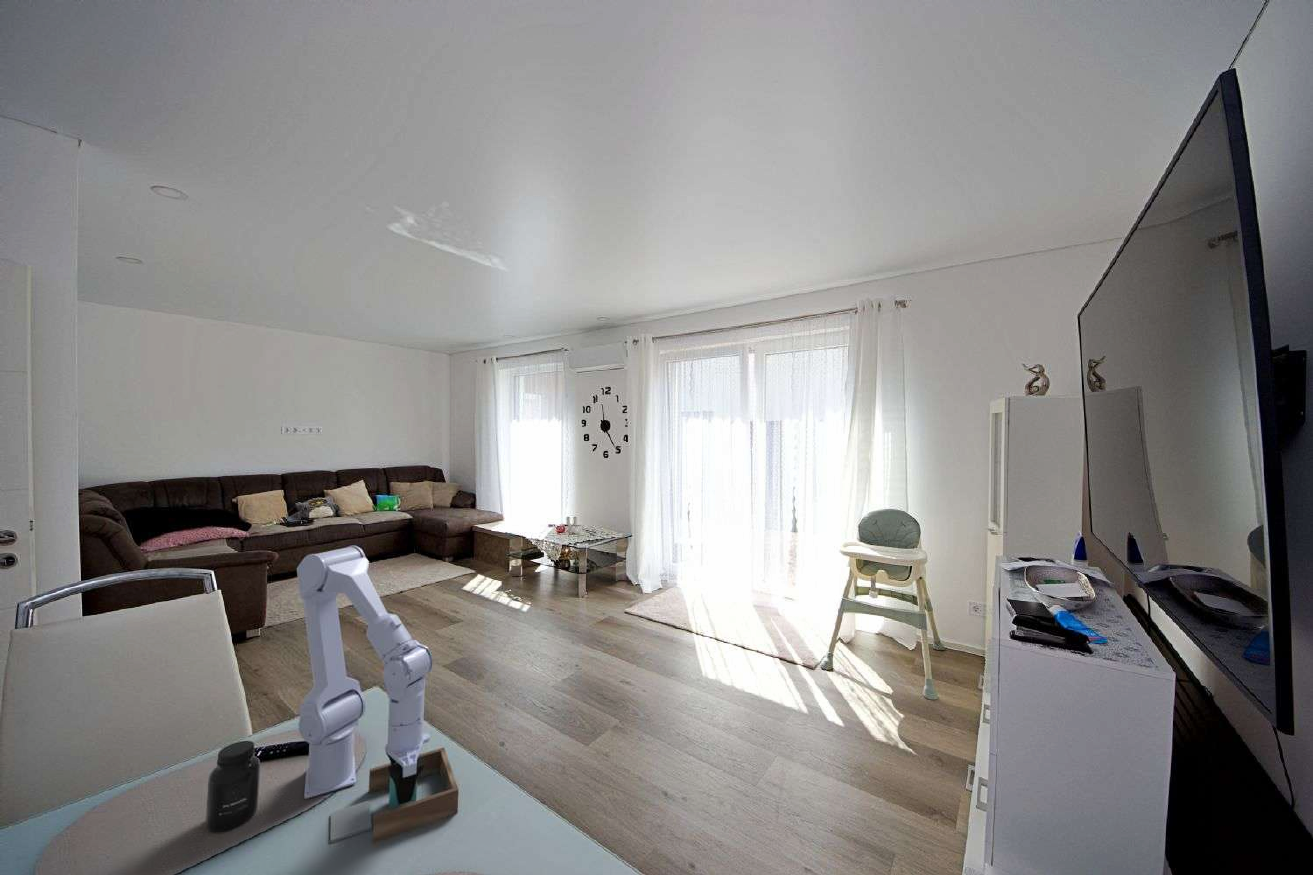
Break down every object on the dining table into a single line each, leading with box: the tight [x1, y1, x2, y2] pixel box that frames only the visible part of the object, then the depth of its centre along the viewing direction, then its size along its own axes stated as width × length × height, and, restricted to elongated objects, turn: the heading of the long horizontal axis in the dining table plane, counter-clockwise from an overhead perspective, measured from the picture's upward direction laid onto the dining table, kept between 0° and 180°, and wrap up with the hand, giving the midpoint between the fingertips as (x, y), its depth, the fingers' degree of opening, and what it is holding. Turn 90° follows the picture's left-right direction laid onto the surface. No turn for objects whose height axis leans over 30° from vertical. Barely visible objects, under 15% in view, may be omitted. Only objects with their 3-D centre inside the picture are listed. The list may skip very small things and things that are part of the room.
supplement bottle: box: [205, 740, 261, 834], centre depth 84 cm, size 7×7×12 cm
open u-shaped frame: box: [368, 747, 459, 844], centre depth 89 cm, size 14×13×4 cm
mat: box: [329, 800, 373, 844], centre depth 84 cm, size 7×6×1 cm
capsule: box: [388, 762, 418, 810], centre depth 88 cm, size 4×4×6 cm
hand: (403, 792), depth 88 cm, fingers closed on capsule, 4 cm apart
